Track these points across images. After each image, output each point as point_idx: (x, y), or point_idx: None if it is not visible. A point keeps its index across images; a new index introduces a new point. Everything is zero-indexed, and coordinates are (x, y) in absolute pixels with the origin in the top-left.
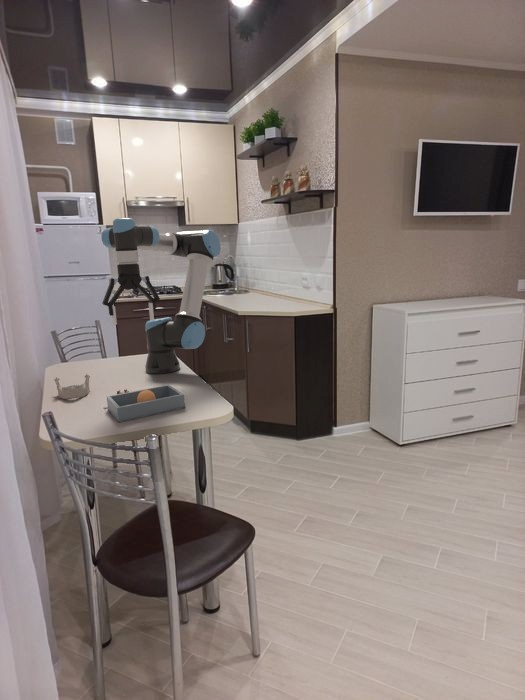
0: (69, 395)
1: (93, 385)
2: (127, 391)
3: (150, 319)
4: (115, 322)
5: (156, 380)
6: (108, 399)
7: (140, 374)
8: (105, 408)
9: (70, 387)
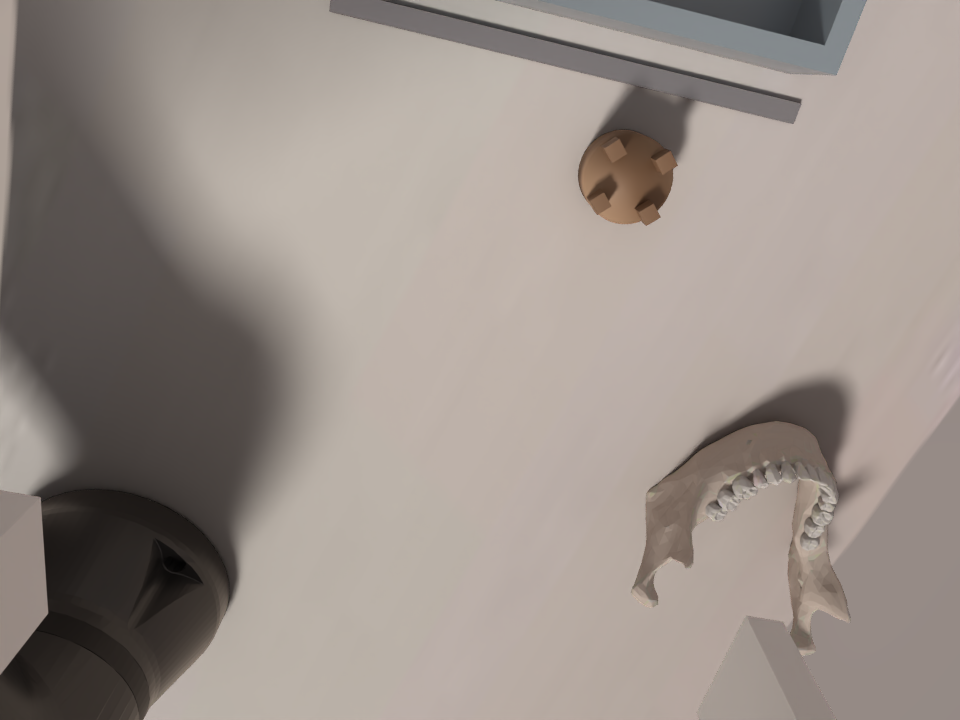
0: (818, 446)
1: (572, 582)
2: (617, 147)
3: (39, 598)
4: (789, 655)
5: (254, 406)
6: (860, 5)
7: (275, 584)
8: (792, 101)
9: (824, 478)
